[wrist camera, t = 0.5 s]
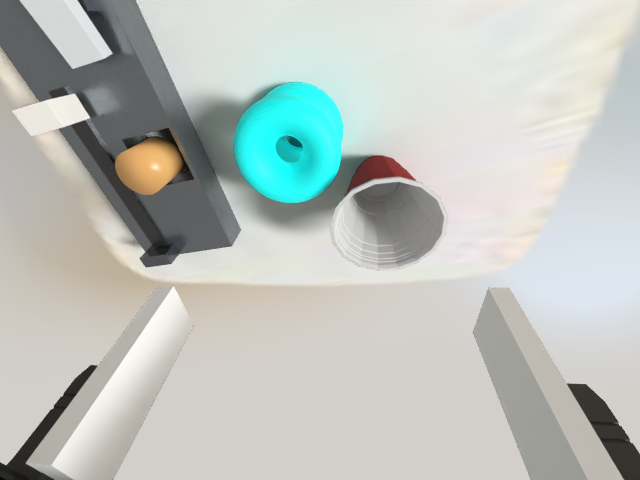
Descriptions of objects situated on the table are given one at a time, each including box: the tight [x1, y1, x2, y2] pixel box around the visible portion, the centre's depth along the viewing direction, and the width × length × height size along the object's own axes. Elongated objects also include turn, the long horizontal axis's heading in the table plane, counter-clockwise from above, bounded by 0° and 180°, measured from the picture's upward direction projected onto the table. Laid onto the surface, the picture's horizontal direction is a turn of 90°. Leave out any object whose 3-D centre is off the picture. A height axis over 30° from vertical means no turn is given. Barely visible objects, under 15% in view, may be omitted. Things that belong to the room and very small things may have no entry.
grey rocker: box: [20, 0, 113, 69], centre depth 25 cm, size 8×4×2 cm, turn 14°
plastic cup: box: [330, 156, 448, 271], centre depth 32 cm, size 11×11×12 cm
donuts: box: [233, 82, 343, 203], centre depth 31 cm, size 10×10×10 cm
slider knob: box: [12, 94, 90, 136], centre depth 30 cm, size 2×4×4 cm, turn 104°
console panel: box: [0, 0, 241, 267], centre depth 34 cm, size 32×13×6 cm, turn 14°
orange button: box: [115, 137, 183, 195], centre depth 33 cm, size 5×5×5 cm
